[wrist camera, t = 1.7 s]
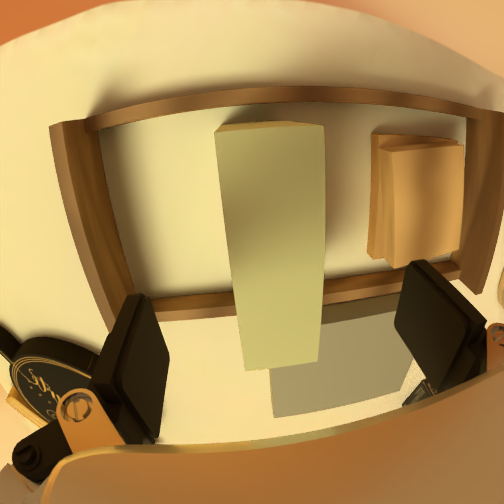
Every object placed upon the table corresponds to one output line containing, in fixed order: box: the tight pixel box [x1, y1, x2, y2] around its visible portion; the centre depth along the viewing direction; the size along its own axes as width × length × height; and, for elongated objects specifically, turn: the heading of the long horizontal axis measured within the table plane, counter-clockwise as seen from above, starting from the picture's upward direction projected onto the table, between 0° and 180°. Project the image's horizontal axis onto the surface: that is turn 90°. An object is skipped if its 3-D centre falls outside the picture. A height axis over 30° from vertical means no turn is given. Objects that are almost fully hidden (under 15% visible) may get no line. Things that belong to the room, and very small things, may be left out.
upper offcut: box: [378, 141, 464, 269], centre depth 20 cm, size 7×9×2 cm
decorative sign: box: [0, 326, 155, 444], centre depth 30 cm, size 29×3×25 cm
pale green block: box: [214, 120, 326, 371], centre depth 17 cm, size 4×12×10 cm, turn 5°
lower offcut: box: [367, 133, 457, 260], centre depth 22 cm, size 8×10×2 cm
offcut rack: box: [49, 86, 504, 333], centre depth 19 cm, size 32×16×5 cm, turn 95°
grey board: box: [269, 293, 413, 418], centre depth 28 cm, size 16×14×2 cm
